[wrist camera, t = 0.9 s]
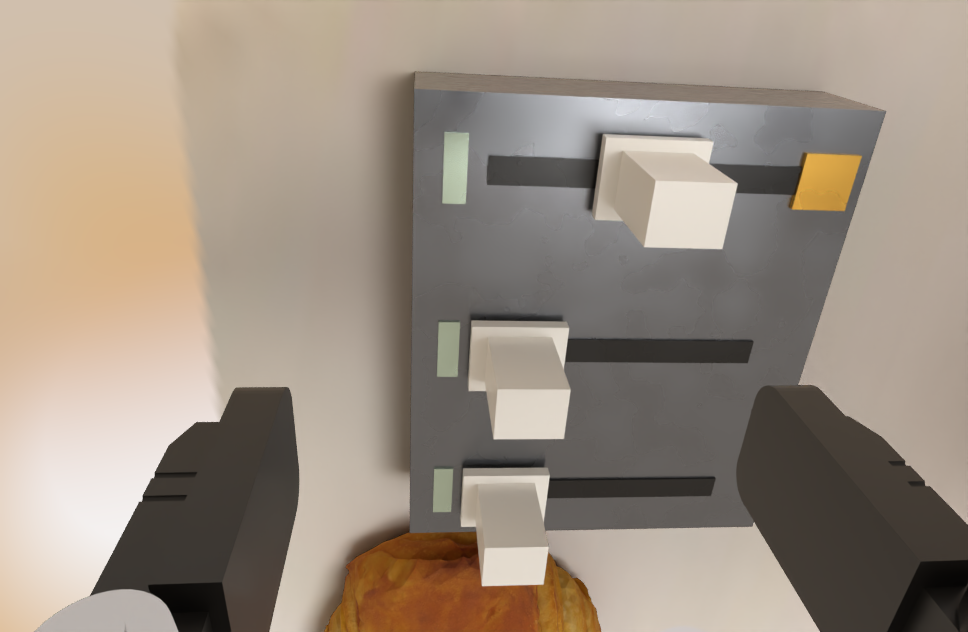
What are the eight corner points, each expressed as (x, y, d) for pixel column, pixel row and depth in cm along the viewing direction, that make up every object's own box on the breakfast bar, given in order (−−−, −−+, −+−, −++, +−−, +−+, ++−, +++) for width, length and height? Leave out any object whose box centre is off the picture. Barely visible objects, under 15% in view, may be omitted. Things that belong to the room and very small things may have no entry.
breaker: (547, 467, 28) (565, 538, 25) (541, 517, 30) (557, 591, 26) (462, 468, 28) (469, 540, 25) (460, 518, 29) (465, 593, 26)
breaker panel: (823, 91, 26) (890, 112, 23) (718, 470, 35) (754, 529, 31) (415, 71, 25) (413, 89, 21) (410, 473, 33) (409, 536, 30)
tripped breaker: (707, 138, 22) (761, 170, 19) (691, 217, 24) (738, 261, 20) (602, 133, 22) (637, 165, 19) (591, 215, 23) (621, 259, 20)
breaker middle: (566, 321, 25) (590, 379, 22) (558, 384, 27) (579, 448, 23) (471, 320, 25) (479, 378, 21) (467, 383, 26) (475, 449, 23)
